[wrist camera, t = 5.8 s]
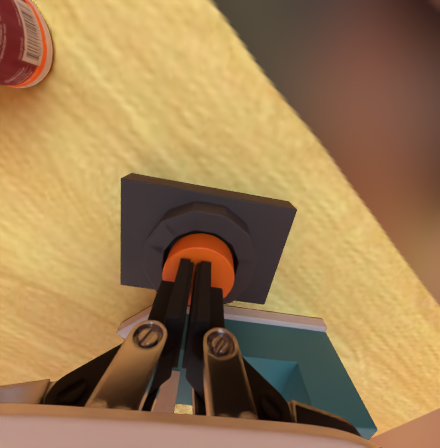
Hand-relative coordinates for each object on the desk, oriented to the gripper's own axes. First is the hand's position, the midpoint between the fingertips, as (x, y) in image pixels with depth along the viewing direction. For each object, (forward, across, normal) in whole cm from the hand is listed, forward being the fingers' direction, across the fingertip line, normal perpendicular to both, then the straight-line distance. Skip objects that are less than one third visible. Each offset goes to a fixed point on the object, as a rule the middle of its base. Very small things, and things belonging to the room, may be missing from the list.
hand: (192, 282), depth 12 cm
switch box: (+5, 0, 0) cm, 5 cm away
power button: (+2, 0, 0) cm, 2 cm away
